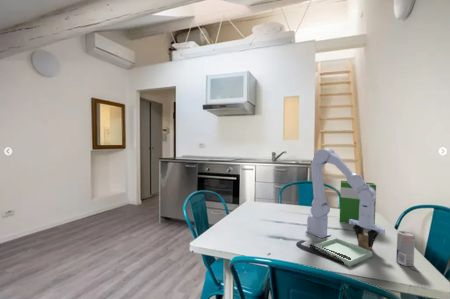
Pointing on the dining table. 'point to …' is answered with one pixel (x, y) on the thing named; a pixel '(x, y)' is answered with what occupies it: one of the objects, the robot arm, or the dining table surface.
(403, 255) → the energy drink
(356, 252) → the tray
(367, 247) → the walnut block
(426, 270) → the dining table surface
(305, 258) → the dining table surface
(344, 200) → the hardback book
